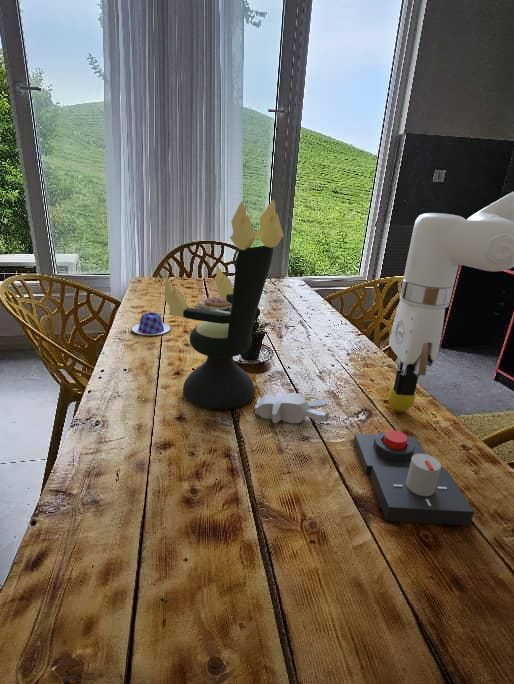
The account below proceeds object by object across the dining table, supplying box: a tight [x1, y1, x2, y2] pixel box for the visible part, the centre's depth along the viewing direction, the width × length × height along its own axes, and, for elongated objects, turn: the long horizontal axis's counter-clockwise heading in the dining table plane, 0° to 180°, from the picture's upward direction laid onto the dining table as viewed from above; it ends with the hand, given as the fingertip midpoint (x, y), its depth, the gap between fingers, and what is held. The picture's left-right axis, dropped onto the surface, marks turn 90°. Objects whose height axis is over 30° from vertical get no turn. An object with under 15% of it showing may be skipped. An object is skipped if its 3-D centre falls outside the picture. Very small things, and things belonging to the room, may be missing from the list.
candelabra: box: [164, 199, 285, 411], centre depth 95 cm, size 19×22×45 cm
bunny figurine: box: [254, 392, 328, 424], centre depth 95 cm, size 10×5×15 cm
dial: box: [406, 453, 442, 496], centre depth 71 cm, size 4×4×5 cm
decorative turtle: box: [194, 295, 232, 314], centre depth 162 cm, size 18×17×5 cm
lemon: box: [387, 383, 416, 413], centre depth 99 cm, size 6×6×8 cm
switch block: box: [353, 431, 427, 476], centre depth 83 cm, size 12×10×4 cm
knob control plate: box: [369, 466, 475, 527], centre depth 73 cm, size 13×10×3 cm
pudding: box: [131, 311, 171, 336], centre depth 140 cm, size 12×12×5 cm
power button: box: [383, 429, 407, 450], centre depth 82 cm, size 4×4×2 cm
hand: (403, 392), depth 78 cm, fingers closed
